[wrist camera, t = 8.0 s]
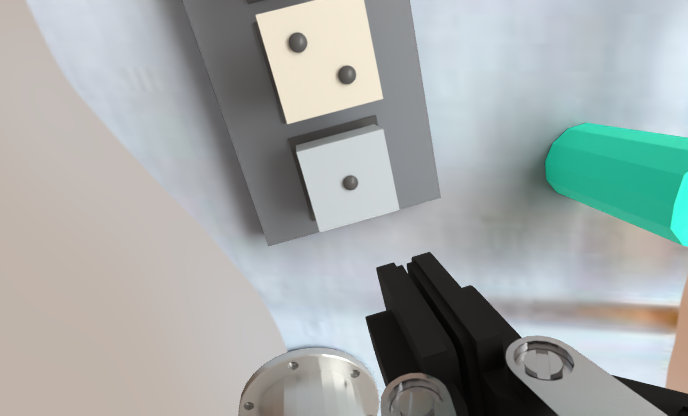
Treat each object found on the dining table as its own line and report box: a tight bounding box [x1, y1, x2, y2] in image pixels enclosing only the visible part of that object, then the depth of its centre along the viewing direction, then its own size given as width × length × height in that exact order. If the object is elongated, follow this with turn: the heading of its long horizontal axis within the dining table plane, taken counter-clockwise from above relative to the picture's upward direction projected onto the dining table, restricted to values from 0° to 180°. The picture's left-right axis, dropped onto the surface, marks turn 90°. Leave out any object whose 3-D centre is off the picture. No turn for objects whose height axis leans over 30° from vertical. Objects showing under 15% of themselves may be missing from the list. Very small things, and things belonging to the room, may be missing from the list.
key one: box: [296, 124, 400, 232], centre depth 23 cm, size 5×5×3 cm
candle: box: [545, 123, 688, 246], centre depth 24 cm, size 6×6×12 cm
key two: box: [256, 0, 383, 124], centre depth 19 cm, size 5×5×3 cm
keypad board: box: [182, 0, 441, 246], centre depth 24 cm, size 22×13×2 cm, turn 14°
